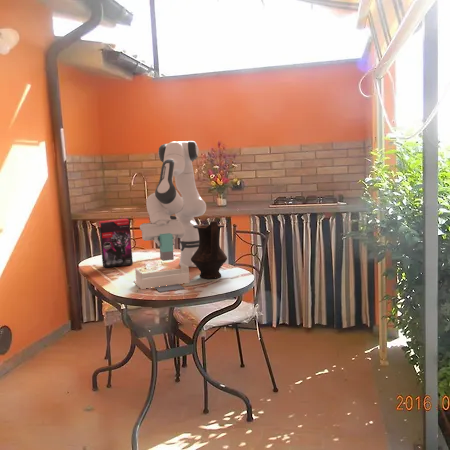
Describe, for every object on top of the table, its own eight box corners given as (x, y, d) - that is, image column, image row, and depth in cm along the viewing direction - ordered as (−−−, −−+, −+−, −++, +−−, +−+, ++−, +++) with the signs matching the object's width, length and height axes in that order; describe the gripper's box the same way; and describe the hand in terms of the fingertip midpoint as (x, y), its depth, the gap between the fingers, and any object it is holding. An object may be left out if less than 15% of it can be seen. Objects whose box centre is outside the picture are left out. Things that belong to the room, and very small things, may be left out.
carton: (178, 275, 265) (178, 260, 263) (189, 282, 248) (188, 266, 247) (133, 281, 256) (132, 266, 255) (141, 289, 239) (140, 273, 238)
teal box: (170, 257, 240) (169, 233, 238) (173, 259, 235) (172, 234, 234) (160, 259, 238) (159, 233, 236) (163, 260, 233) (161, 235, 232)
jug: (187, 275, 264) (184, 218, 260) (220, 271, 270) (217, 215, 266) (199, 284, 244) (196, 223, 240) (235, 279, 251) (232, 219, 247)
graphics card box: (104, 268, 290) (100, 222, 287) (101, 266, 296) (98, 220, 293) (133, 265, 298) (130, 219, 294) (130, 263, 304) (127, 218, 300)
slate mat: (178, 284, 245) (178, 283, 245) (184, 288, 237) (184, 287, 236) (154, 288, 240) (154, 287, 240) (159, 292, 232) (159, 291, 232)
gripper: (139, 219, 237) (145, 243, 229) (181, 216, 244) (188, 239, 237) (138, 228, 241) (143, 251, 233) (178, 224, 249) (185, 247, 241)
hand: (166, 245), depth 235 cm, fingers closed on teal box, 5 cm apart
